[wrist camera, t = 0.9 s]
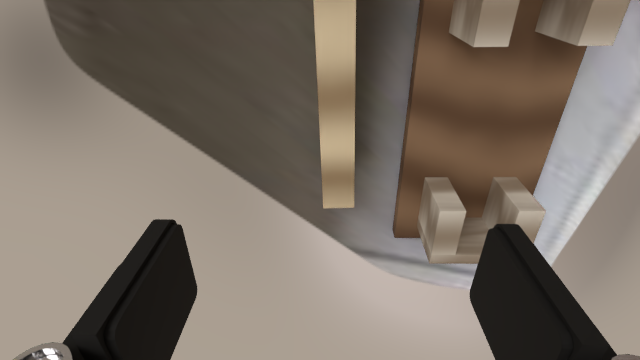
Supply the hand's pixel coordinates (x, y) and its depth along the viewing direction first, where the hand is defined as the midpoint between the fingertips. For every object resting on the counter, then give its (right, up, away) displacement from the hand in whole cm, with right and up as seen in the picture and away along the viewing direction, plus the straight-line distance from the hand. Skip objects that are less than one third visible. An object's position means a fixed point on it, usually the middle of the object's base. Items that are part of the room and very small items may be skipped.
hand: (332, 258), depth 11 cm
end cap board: (+13, +8, +18) cm, 24 cm away
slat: (+1, +11, +17) cm, 20 cm away
